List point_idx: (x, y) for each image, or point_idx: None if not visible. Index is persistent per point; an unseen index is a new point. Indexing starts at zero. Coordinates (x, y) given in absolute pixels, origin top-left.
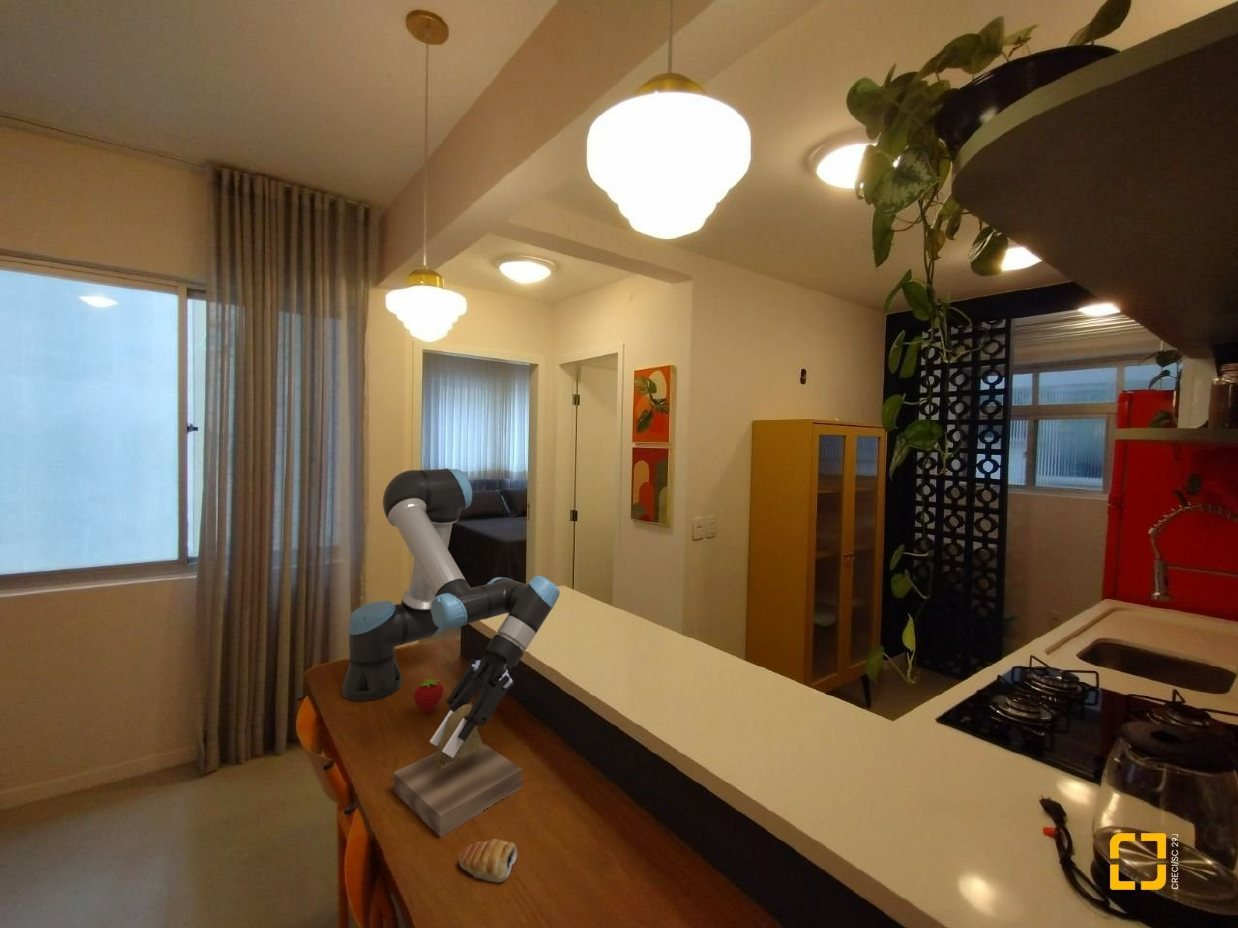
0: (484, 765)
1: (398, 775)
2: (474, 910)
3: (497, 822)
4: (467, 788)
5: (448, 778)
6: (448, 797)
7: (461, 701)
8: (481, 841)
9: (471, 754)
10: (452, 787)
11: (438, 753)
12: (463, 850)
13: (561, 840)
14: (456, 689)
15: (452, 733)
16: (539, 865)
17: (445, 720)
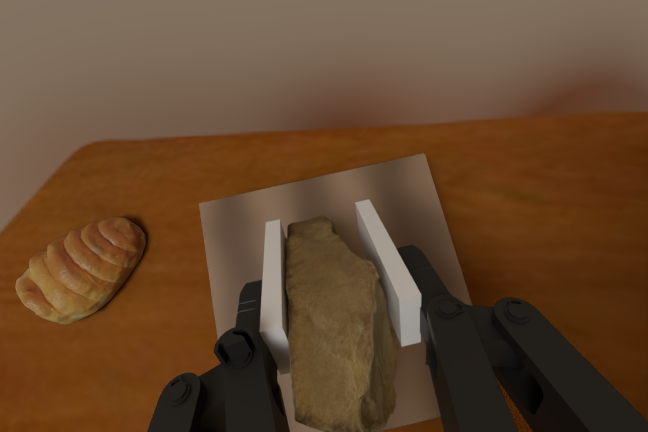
0: None
1: (404, 160)
2: (34, 213)
3: (184, 327)
4: None
5: None
6: (248, 238)
7: (440, 382)
8: (110, 264)
9: None
10: None
11: (313, 220)
12: (124, 229)
13: (46, 425)
14: (586, 401)
15: (295, 265)
16: (28, 349)
17: (386, 258)
